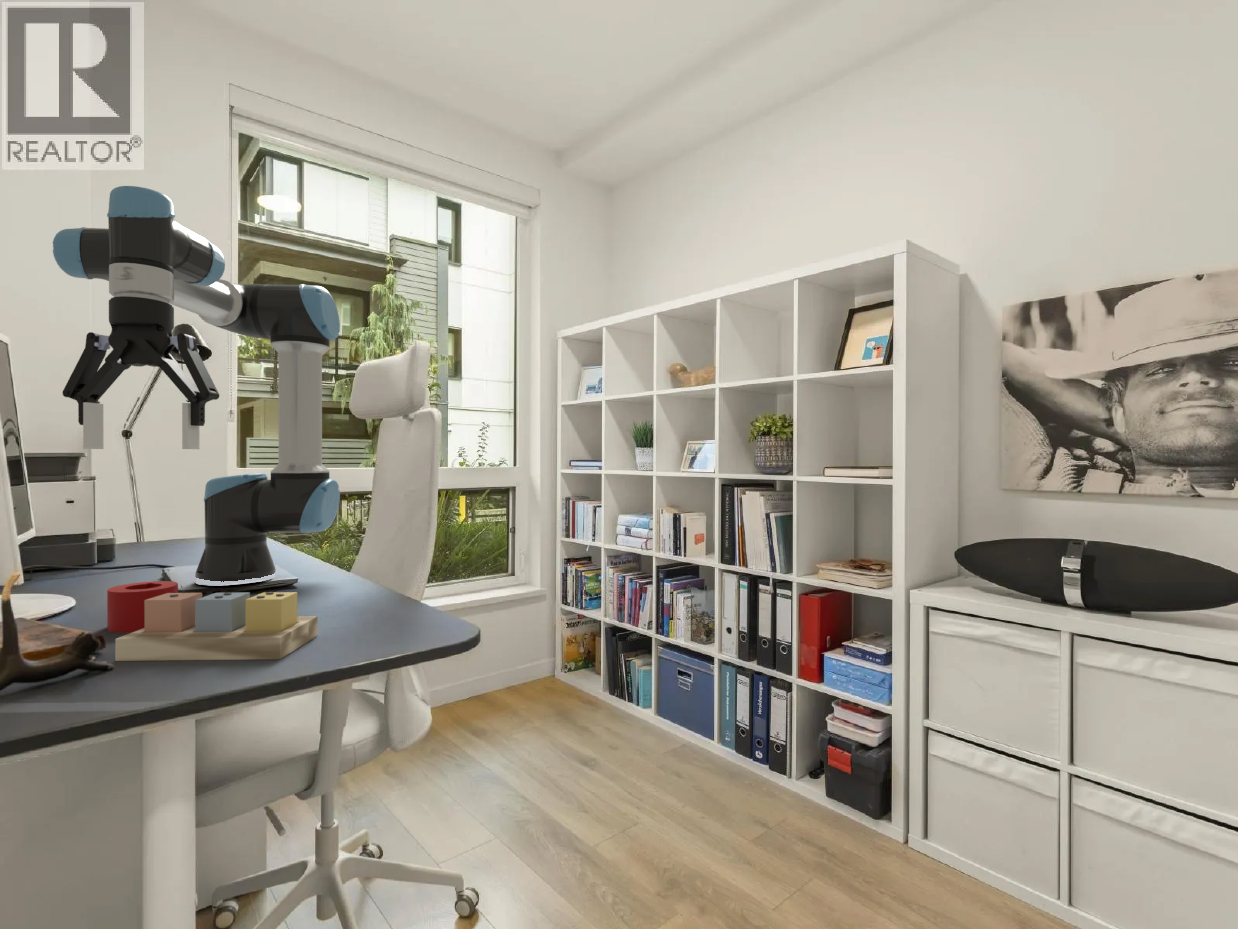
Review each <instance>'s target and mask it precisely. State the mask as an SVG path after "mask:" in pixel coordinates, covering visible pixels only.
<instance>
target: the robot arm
mask: <svg viewBox="0 0 1238 929" xmlns="http://www.w3.org/2000/svg"><path fill="white" fill-rule="evenodd" d="M108 199H109V200H108V212H107V214H106V215H107V219H108V228H102V227H101V228H94V227H85V226H83V227H78V228H77V227H76V228H74V227H73V228H64V229H61V230H60V231H58V232H57V233H56V234H55V235H54V238H53V239H52V248H53V249H52V255H53V258H54V260H55V262H56V264H57V265H58V267H59V268H60V269H61V270H62V271H63V272H64V273H65V274H66V275H68V276H70V277H73V278H76V279H77V278H78V279H86V280H93V279H97V280H104V281H107V282H108V294H110V295H111V296H112V297H111V298H110V299H108V322H109V324H110V327H111V331H110V334H109V335H106V334H105V335H104V334H100V333H96V332H93V331H91V332H88V333H86V338H85V346H84V349H83V351H82V353H81V355H80V357H79V359H78V360H77V363H76V365H75V367H74V369H73V371H72V373H71V374H70V376H69V379H68V381H67V383H66V384H65V386H64V389H63V390H62V396H63V397H64V398H69V399H72V400H73V401H74V400H75V401H76V402H77V404H78V405H77V406H78V408H77V410H78V413H77V415H78V416H77V417H78V418H77V420H78V421H77V422H78V423H79V425H80V426H83V428H82V430H83V431H82V433H83V436H82V437H83V438H82V440H83V442H82V443H83V446H82V448H83V449H84V450H85V449H86V450H104V404H103V403H101V402H100V399H101V398H102V397H103V395H104V394H105V393H106V392H107V391H108V390H109V388H110V387H111V386H112V385H113V384H114V383H115V382H116V380H117V379H118V378H119V377H120V376H121V375H122V373H123V372H124V371H126V370H128V369H129V368H131V367H144V366H149V367H158V368H159V369H161V371H162V372H163V373H164V374H165V375H166V376H167V377H168V378H169V380H170V381H171V382H172V383H173V384H174V386H175V387H176V388H177V389H178V390H179V391H180V393H181V394H183V396H184V397H185V402H182V403H181V404H182V405H181V406H182V407H181V411H182V412H181V415H182V416H181V419H182V422H181V425H182V427H181V428H182V430H181V431H182V432H181V433H182V434H181V438H182V441H181V443H182V444H181V445H182V446H181V447H182V450H200V427H204V426H205V423H206V405H207V403H208V402H210V401H214V400H215V401H216V400H219V398H220V393H219V391H218V389H217V387H216V385H215V383H214V381H213V379H212V378H211V375H210V373H209V371H208V369H207V367H206V366H205V363H204V362H203V359H202V357H201V356H200V354H199V352H198V343H197V338H196V337H194V336H193V335H189V334H186V333H184V332H180V333H178V334H177V335H173V331H174V328H175V307H177V308H180V309H182V310H185V311H188V312H190V313H193V314H196V315H198V316H199V318H200V319H201V320H203V321H204V322H205V323H207V324H209V325H211V326H214V327H216V328H220V329H222V330H226V331H229V332H231V333H234V334H238V335H242V336H245V337H250V338H255V339H263V340H264V339H267V340H268V339H269V340H270V346H271V347H272V348H273V349H274V350H275V351H276V352H277V354H278V463H277V465H276V466H274V468H272V469H271V471H270V479H268V476H267V474H266V473H265V472H259V473H248V474H247V473H246V474H238V475H235V474H234V475H227V476H221V477H220V476H219V477H215V478H212V479H210V480H208V481H207V482H206V483H205V490H204V497H203V502H204V549H203V552H202V554H201V557H200V560H199V563H198V565H197V568H196V571H195V573H194V576H195V577H196V578H199V579H204V580H210V581H221V582H222V581H223V582H224V581H238V580H245V579H252V578H261V577H264V576H268V575H272V574H274V573H275V572H276V570H277V569H276V566H275V562H274V560H273V557H272V555H271V552H270V548H269V547H268V542H267V535H268V534H267V533H270V534H272V533H276V534H277V533H279V534H280V533H282V534H283V533H288V534H289V533H292V534H293V533H302V534H309V533H317V532H318V533H319V532H320V533H321V532H324V531H326V530H327V529H329V528H330V527H331V526H332V524H333V522H334V520H335V518H336V516H337V515H338V511H339V507H340V502H341V501H340V500H341V490H340V488H339V487H340V486H339V483H338V481H336V480H334V479H333V478H330V470H329V469H328V468H327V467H326V466H325V465H324V464H323V356H324V355H325V354H326V353H327V352H328V351H330V341H333V340H336V339H337V338H338V337H339V335H340V334H339V333H340V330H341V324H340V322H341V320H340V316H339V315H340V314H339V310H338V308H337V305H336V302H335V300H334V298H333V296H332V295H331V293H330V291H328V290H327V289H326V288H325V287H324V286H320V285H310V284H305V283H301V284H262V283H260V284H259V283H251V284H250V283H248V284H247V283H233V282H231V281H228V280H225V279H221V278H222V277H223V275H224V273H225V268H226V260H225V256H224V254H223V253H222V251H221V249H219V248H218V247H217V245H215V244H213V243H211V242H210V240H208V239H207V238H206V237H204V236H202V235H199V234H197V233H196V232H194V231H193V230H190V229H189V228H187V227H185V226H183V225H181V224H180V223H179V222H177V221H175V217H176V213H175V208H174V207H175V206H174V203H173V201H172V199H171V198H170V197H169V196H167V195H166V194H164V193H162V192H159V191H157V190H155V189H151V188H146V187H141V186H137V185H136V186H135V185H121V186H116V187H114V188H113V189H112V190H111V191H110V192H109V198H108ZM111 348H112V350H111V351H110V353H109V354H108V355H107V351H108V350H110V349H111ZM174 348H176V350H178V351H179V355H180V356H181V359H182V360H183V363H184V364H185V367H186V368H187V370H188V372H189V374H190V376H191V378H192V379H191V378H190V377H189V376H188V375H187V374H186V373H185V371H184V370H183V369H182V368H181V366H180V365H179V362H178V361H177V360H176V359H175V358H174V356H173V355H172V354H171V352H172V351H173V349H174ZM106 355H107V356H106ZM103 361H104V363H103ZM102 363H103V364H102ZM101 364H102V365H101ZM192 380H193V381H192Z"/></svg>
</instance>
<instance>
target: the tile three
mask: <svg viewBox="0 0 1238 929" xmlns="http://www.w3.org/2000/svg"><path fill="white" fill-rule="evenodd" d="M297 617H298V592H297V591H294V592H293V591H287V592H285V591H276V592H274V591H264V592H261V593H258V594H256V595H254V596H250V598H248V599H246V632H265V631H284V630H286V629H288V628H290V627H291V626H293V625H295V624H297Z"/></svg>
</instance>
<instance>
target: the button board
mask: <svg viewBox="0 0 1238 929" xmlns="http://www.w3.org/2000/svg"><path fill="white" fill-rule="evenodd" d="M318 621H319V620H318V616H315V615H313V616H310V615H309V616H306V615H304V616H300V615H299V616H297V624H295V625H293V626H291V627H290V628H288V629H286V630H284V631H265V632H246V625H245V626H243V627H241V628H239V629H237V630H235V631H233V632H195V627H193V628H190V629H188V630H186V631H183V632H146V633H145V628H143V629H140V630H138V631H135V632H129V633H127V634H125V635H122V636H119V637H117V638H115V647H114V648H115V650H114V651H115V654H114V655H115V656H114V657H115V662H116V661H117V662H121V661H122V662H126V661H127V662H130V661H131V662H136V661H140V662H141V661H147V662H148V661H221V660H222V661H224V660H225V661H227V660H228V661H229V660H230V661H231V660H232V661H236V660H237V661H239V660H243V661H244V660H247V661H248V660H281V659H283V658H284V657H286V656H288V655H289V654H291V653H293V652H294V651H295V650H297V649H298V648H300V647H302V646H303V645H305V644H307V643H309V642H310V641H311V640H313V639H315V638H316V637H317V636H318V634H319V633H318V632H319V628H318V623H319V622H318Z"/></svg>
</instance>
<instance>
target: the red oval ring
mask: <svg viewBox="0 0 1238 929" xmlns="http://www.w3.org/2000/svg"><path fill="white" fill-rule="evenodd" d="M106 592H107V593H106V594H107V596H106V598H107V599H106V601H107V602H106V605H107V606H106V608H107V609H106V611H107V614H106V617H107V619H106V620H107V622H106V625H107V631H108V632H111V633H115V634H116V633H120V634H121V633H122V634H123V633H125V634H126V633H127V634H130V633H132V632H135V631H138V630H140V629H143V628H145V602H144V600H147V599H150V598H153V597H156V596H160V595H163V594H166V593H179V584H178V582H176V581H171V580H170V581H167V580H164V581H163V580H162V581H161V580H158V581H141V582H133V583H127V584H120V585H116V586H111V587H109V588H107V591H106Z"/></svg>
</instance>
